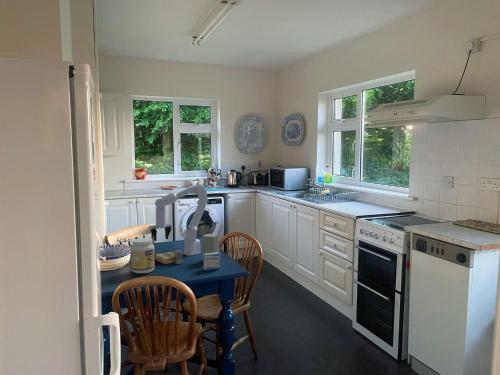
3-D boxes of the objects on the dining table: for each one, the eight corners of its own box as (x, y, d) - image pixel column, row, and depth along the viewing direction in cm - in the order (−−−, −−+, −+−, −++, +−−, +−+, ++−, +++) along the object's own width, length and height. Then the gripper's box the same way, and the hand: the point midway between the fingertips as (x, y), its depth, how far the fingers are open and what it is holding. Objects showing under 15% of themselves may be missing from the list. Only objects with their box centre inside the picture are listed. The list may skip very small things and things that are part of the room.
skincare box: (220, 260, 226) (220, 234, 224) (214, 263, 219) (214, 236, 218) (208, 258, 229) (207, 232, 228) (201, 261, 223) (201, 235, 221)
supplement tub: (148, 274, 198) (148, 243, 197) (127, 273, 201) (126, 242, 199) (158, 267, 210) (157, 237, 209) (138, 266, 213) (137, 237, 211)
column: (179, 261, 223) (179, 249, 222) (183, 263, 220) (182, 251, 219) (173, 262, 220) (173, 250, 220) (176, 264, 217) (176, 252, 217)
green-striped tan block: (173, 256, 234) (173, 251, 234) (182, 260, 225) (182, 255, 224) (155, 259, 227) (154, 254, 226) (163, 264, 217) (163, 259, 217)
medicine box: (205, 270, 205) (205, 255, 205) (203, 268, 209) (203, 253, 209) (219, 269, 209) (219, 253, 208) (216, 266, 213) (216, 251, 212)
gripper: (168, 216, 239) (168, 237, 240) (146, 218, 230) (147, 240, 231) (173, 217, 234) (174, 239, 235) (151, 220, 225) (152, 242, 226)
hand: (161, 240), depth 233 cm, fingers open, 7 cm apart
